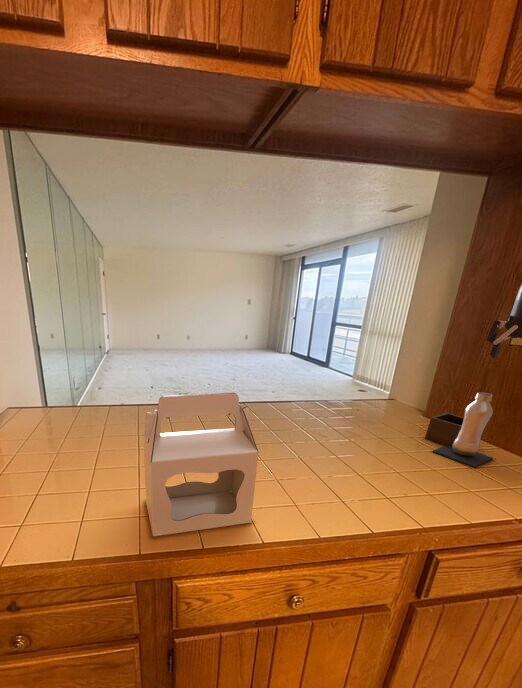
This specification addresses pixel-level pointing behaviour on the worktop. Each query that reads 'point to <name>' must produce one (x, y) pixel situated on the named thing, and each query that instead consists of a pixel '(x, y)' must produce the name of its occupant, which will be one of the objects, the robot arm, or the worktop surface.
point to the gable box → (199, 466)
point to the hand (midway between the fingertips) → (512, 360)
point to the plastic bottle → (473, 425)
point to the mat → (463, 456)
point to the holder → (444, 428)
